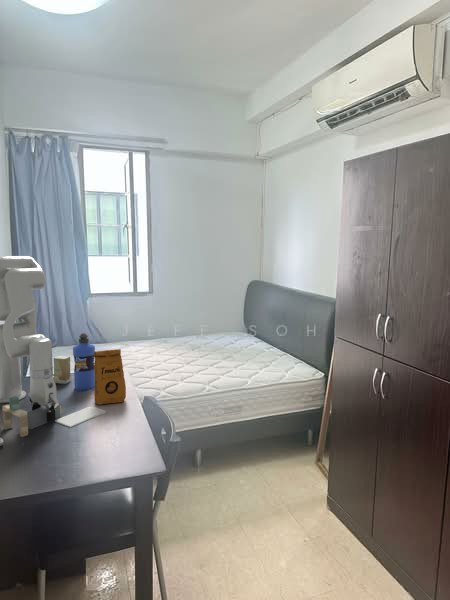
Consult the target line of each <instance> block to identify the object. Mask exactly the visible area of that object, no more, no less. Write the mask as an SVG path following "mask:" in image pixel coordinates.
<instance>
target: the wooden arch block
mask: <svg viewBox="0 0 450 600" xmlns="http://www.w3.org/2000/svg"><path fill="white" fill-rule="evenodd" d="M1 406H2V407H1V408H2V421H3V422H2V424H3V425H2V426H3V430H9V429H11V428H12V415H14V416H16V417H18V425H19V436H20V437H22V438H24V437H26V436H29V428H28V420H27V412H28V411H27V410H24V409H21V408H20V400H19V397H16V396H13V397H10V398H9V402H8V404H4V405H1Z"/></svg>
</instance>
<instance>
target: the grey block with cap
mask: <svg viewBox="0 0 450 600" xmlns="http://www.w3.org/2000/svg"><path fill="white" fill-rule="evenodd" d="M49 407H51V405H49ZM46 412H48V411H47V409H46V406H45V405H42V406H41V408H38V409H35V410H32V409H31V410H30V411H27V420H28V430H33V429H35V428H37V427H40V426H43V425H45V424H47V416H46ZM61 415H62V406H61V405H60V404H58V405H57V408H56V410H55V417H56V420H57V419H59V418H61Z"/></svg>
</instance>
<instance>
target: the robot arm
mask: <svg viewBox="0 0 450 600" xmlns="http://www.w3.org/2000/svg"><path fill="white" fill-rule="evenodd" d="M46 285H47V277H46V274H45V271H44V270H43V268H42V267H41V266H40V265H39V263H37V261H36V260H35V259H34V258H33V257H32V256H30V255H29V256H28V255H0V322H4V323H2V324H0V404H6V403H8V404H9V398H10V397H13V396H16V397H19V401H20V400H23V399H24V398H26V396H28V398H29V401H30V407H31V411H32V410H35V409H38V408H41V407H42V406H46V409H47V411H48V412H46V416H47V423H48V424H49V423H52V422H55V420H57V419H56V417H55V410H56V408H57V405H59V403H60V402H59V400H58V392H57V391H58V390H57V385H56V384H57V383H55V379H54V362H53V346H52V345H53V344H52V340H51V339H50V338H48V337H46V336H45V335H44V334H42V333H38V331H37V314H36V312H37V311H36V307H37V305H36V302H35V301H36V300H35V296H34V292H33V290H42V289H44V288H45V287H46ZM17 320H21V321H18V322H16V321H17ZM24 357H29V359H28V360H29V361H28V362H29V376H30V378H29V379H30V381H29V392H28V393H27V392H26V391H25V390H23V389H22V373H21V370H22V367H21V358H24ZM49 401H50V403H48V402H49ZM49 405H51V407H49ZM47 423H46V424H47Z"/></svg>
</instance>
